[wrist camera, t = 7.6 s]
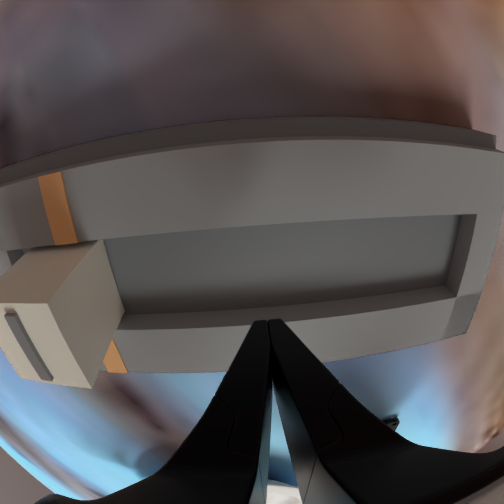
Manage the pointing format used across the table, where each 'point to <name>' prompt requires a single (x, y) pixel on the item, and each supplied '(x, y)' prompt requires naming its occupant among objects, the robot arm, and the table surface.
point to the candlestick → (282, 493)
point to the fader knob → (59, 313)
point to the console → (271, 232)
